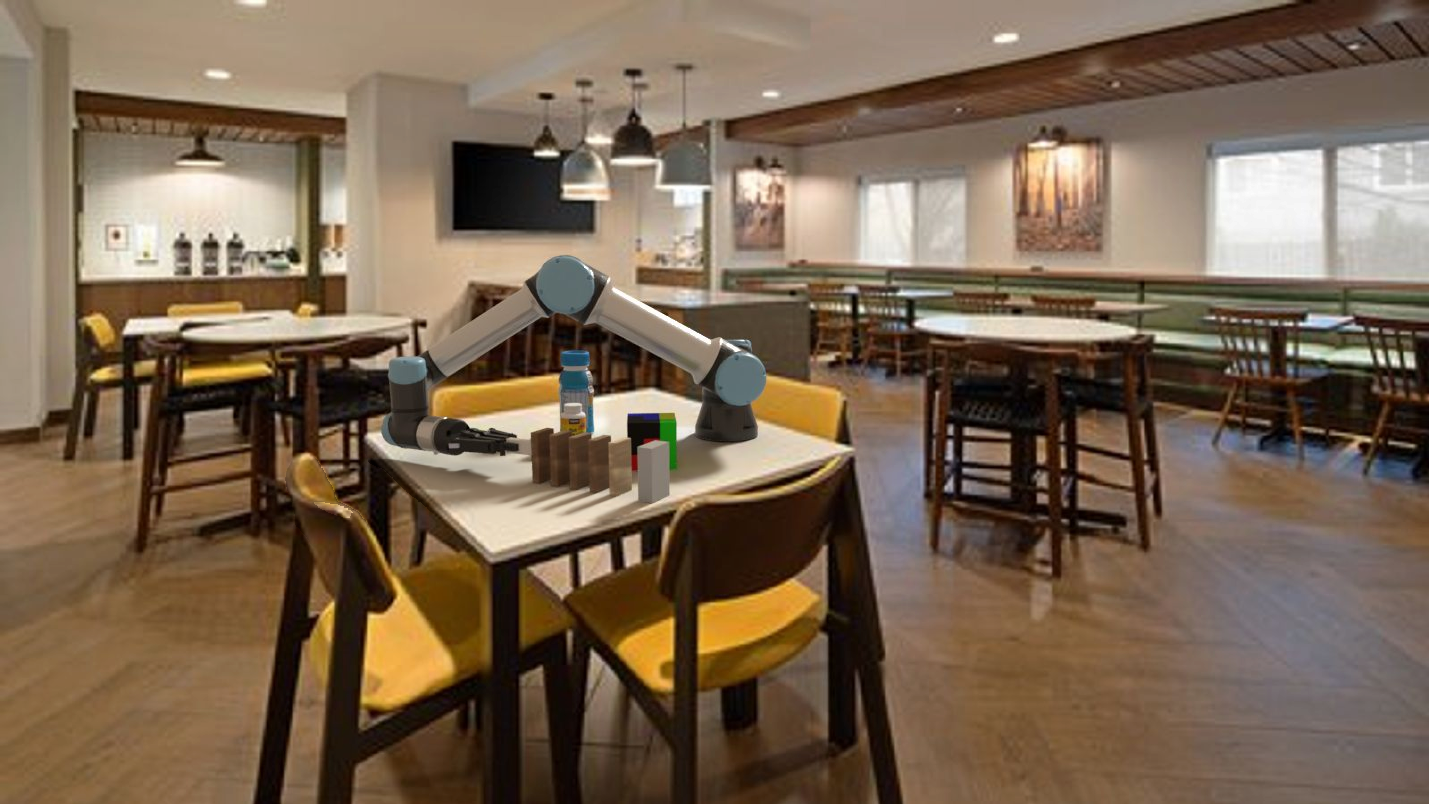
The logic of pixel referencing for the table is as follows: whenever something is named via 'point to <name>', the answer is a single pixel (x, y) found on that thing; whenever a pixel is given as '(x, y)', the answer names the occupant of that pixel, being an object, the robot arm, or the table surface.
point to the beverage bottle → (577, 384)
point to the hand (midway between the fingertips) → (534, 448)
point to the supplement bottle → (573, 418)
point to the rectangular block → (653, 471)
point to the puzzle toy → (652, 434)
